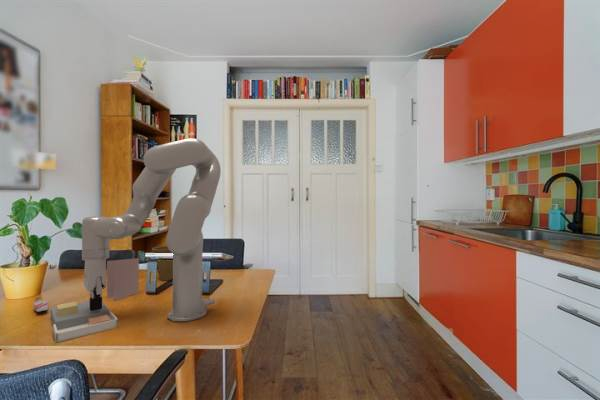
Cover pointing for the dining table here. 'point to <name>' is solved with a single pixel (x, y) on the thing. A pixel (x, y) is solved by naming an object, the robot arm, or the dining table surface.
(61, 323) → the slate board
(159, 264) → the plant pot
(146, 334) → the dining table surface
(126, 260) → the greeting card
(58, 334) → the tray
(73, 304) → the tile mustard
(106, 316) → the salmon pink block
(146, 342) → the dining table surface
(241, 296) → the dining table surface
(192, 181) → the robot arm
